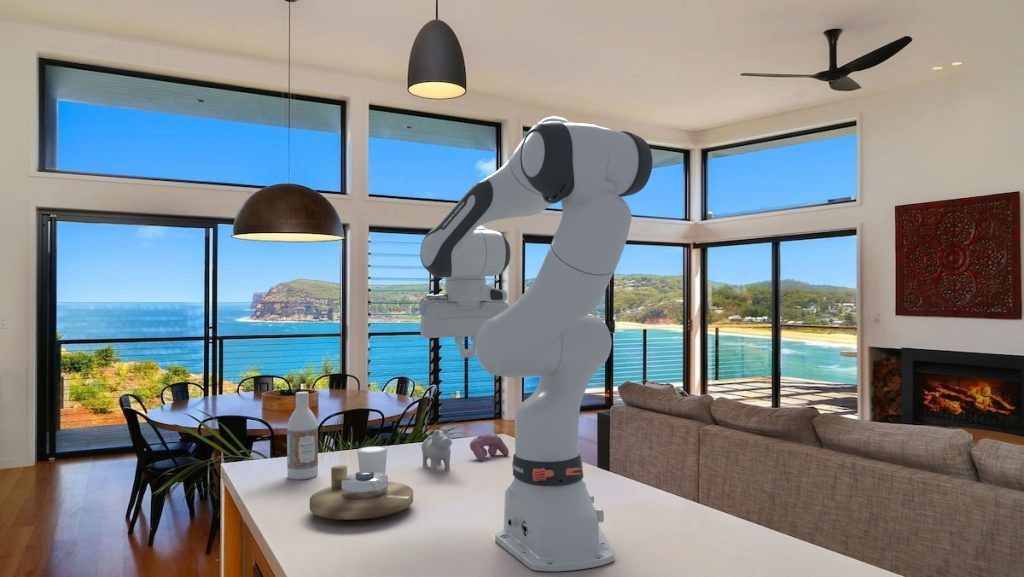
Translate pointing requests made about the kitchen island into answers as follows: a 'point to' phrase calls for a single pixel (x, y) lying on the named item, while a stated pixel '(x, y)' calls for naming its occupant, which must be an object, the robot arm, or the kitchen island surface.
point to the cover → (364, 485)
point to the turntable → (339, 507)
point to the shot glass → (372, 459)
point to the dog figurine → (437, 449)
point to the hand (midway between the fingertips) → (467, 357)
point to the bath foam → (302, 441)
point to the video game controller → (488, 440)
